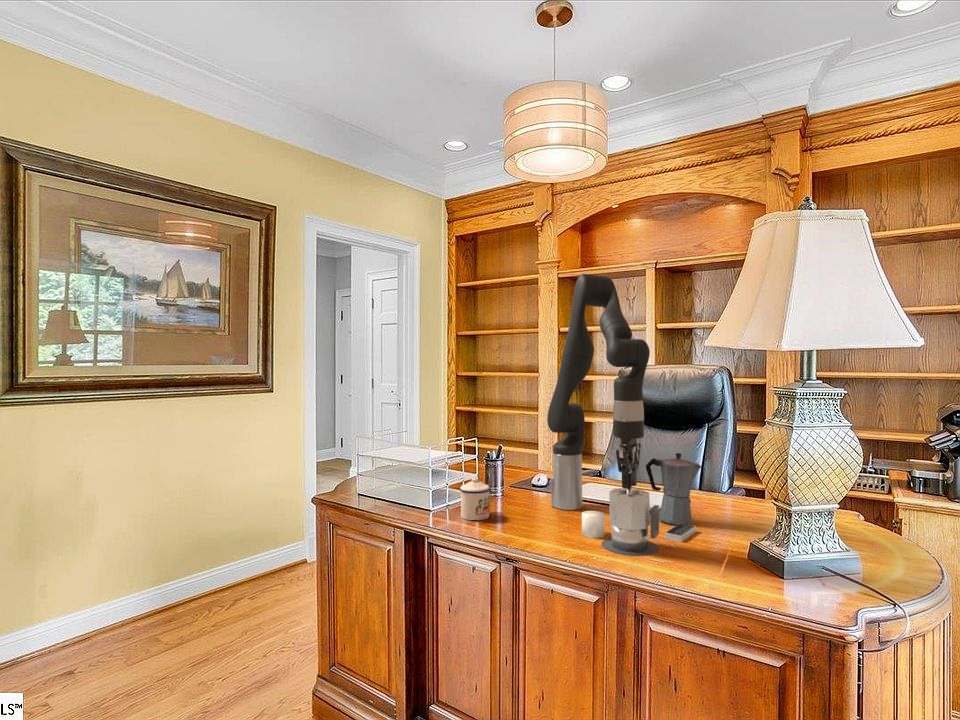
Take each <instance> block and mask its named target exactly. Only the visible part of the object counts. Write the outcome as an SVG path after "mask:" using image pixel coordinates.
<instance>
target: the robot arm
mask: <svg viewBox="0 0 960 720" xmlns="http://www.w3.org/2000/svg"><path fill="white" fill-rule="evenodd" d="M573 290H574V291H573V295H572V296H573V297H572V305H571V311H570V318H569V319H570V320H569V324H568V325H569V326H568V331H567V334H566V339H565V342H564V347H563V351H562V357H561V360H560V361H561V362H560V367H559V371H558V372H559V373H558V376H557V380H556V384H555V387H554V392H553V395H552V398H551V401H550V403H549V407H548V411H547V418H546V420H547V421H546V422H547V427H548V428H549V430H550V431H551V432H552V433H556V434H560V433H564V436H563V437H562V438H561V439H560V440H558V441H557V442H555V443H554V444H553V446H552V464H553V465H552V469H553V470H552V472H553V475H552V476H551V477H550V506H551V508H553V507H554V508H556V509H558V510H565V511H574V510H575V511H576V510H580V509H582V508H583V448H584V443H585V424H586V423H585V420H586V419H585V412H584V410H583V408H582V406H581V405H580V404H578V403H575V402H574V403H573V402H571V403H570V401H571V398H572V396H573V394H574V392H575V390H577V388H578V387H579V385H580V384H581V383H582V382H583V380H584V379H585V378H586V377H587V375H588V374H589V372H590V370H591V367H592V363H593V358H594V353H595V346H594V343H593V339H592V337H591V335H590V332H589V330H588V326H587V324H586V323H587V322H586V316H585V315H586V307H588V306H589V307H597V308H601V307H602V308H603V309H604V310H603V311H602V313H601V314H600V317H599V328H600V330H601V331H600V332H601V333H602V336H603V338H604V339H605V345H606V350H605V351H606V354H605V356H606V360H607V362H608V363H609V365H611V367H615V368H631V370H630V371H629V373H628V374H627V375H623V376H618V377H616V378H615V379H614V380H613V406H612V422H613V423H612V429H613V430H612V431H613V433H612V434H613V437H615V438H617V439H618V438H619V439H620V441H619V443H620V444H619V445H618V449H616V450H615V454H616V455H615V456H616V462H617V471H618V472H619V473H621V488H626V489H630V488H631V487H632V488H633V486H632V477H631V472H632V464H638V465H639V466H640V459H641V458H640V455H641V447H642V445H641V443H638V439H642V438H644V436H645V410H644V401H643V400H644V398H643V396H644V395H643V387H644V386H643V385H644V379H645V373H646V370H647V366H648V363H649V360H650V354H651V353H650V351H651V350H650V347H649V345H648V343H647V341H646V340H644V339H642V338H641V339H640V338H633V332H632V329H631V327H630V325H629V323H628V321H627V319H626V318H625V316H624V313H623V312H622V307H621V304H620V300H619V295H618V293H617V288H616V286H615V283H614V281H613V279H611V278H610V277H609V276H604V275H597V274H596V275H595V274H590V273H582V274H580V275H579V276H578V278H577V279H576V282H575V285H574V289H573ZM624 464H625V465H626V467H624ZM636 470H638V468H636Z"/></svg>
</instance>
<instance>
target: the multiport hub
mask: <svg viewBox="0 0 960 720" xmlns="http://www.w3.org/2000/svg"><path fill="white" fill-rule="evenodd" d="M696 533H697V526H696V525H693V524H692V525H691V524H689V525H688V524H682V523H680V524H678V525H674V526H673V527H672V528H670V529H668V530H667V531H665V532H664V537H665V540H669V541H675V542H680V543H682V542H684V541H685V540H686V539H688V538H689V537H691V536H692V535H694V534H696Z"/></svg>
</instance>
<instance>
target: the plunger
mask: <svg viewBox="0 0 960 720" xmlns="http://www.w3.org/2000/svg"><path fill="white" fill-rule="evenodd" d="M639 466H640V464H639V465H638V464H632V472H631V477H632V487H631V488H630V489H627V495H632V488H633V487H635V486H637V485H638V484H637V483H638V482H637V481H638V479H637V478H638V477H637V476H638V475H637V470H638V469H639ZM624 467H626V465H625V464H624ZM636 468H637V470H636Z"/></svg>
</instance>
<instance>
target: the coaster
mask: <svg viewBox="0 0 960 720" xmlns="http://www.w3.org/2000/svg"><path fill="white" fill-rule="evenodd" d="M648 543H649V548H648V549H647V550H646V551H642V552H626V551H621V550H618V549H615V548H614V547H612V545H611V537H608V538H607V539H603V540H602V542H601V545H600V546H601V547H602V548H603V549H604V550H606V551H607V552H610V553H612V554H617V555H621V556H627V557H629V556H630V557H646V556H651V555H655V554H656V553H658V552H659V551H660V547H659V545H657V544H656V543H655V542H653V541H651V540H648Z"/></svg>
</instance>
